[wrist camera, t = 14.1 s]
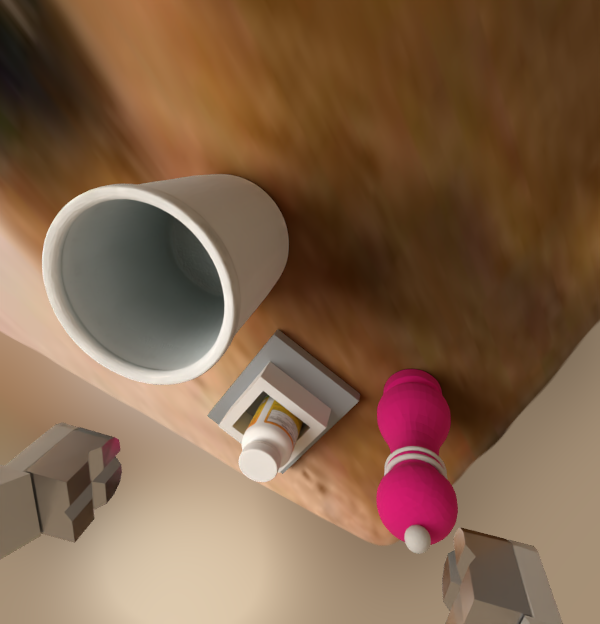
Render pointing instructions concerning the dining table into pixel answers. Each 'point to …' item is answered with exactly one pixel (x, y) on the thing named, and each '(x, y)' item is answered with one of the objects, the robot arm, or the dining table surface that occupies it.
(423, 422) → the pepper mill
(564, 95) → the dining table surface
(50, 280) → the utensil holder
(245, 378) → the docking board
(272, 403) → the supplement bottle
